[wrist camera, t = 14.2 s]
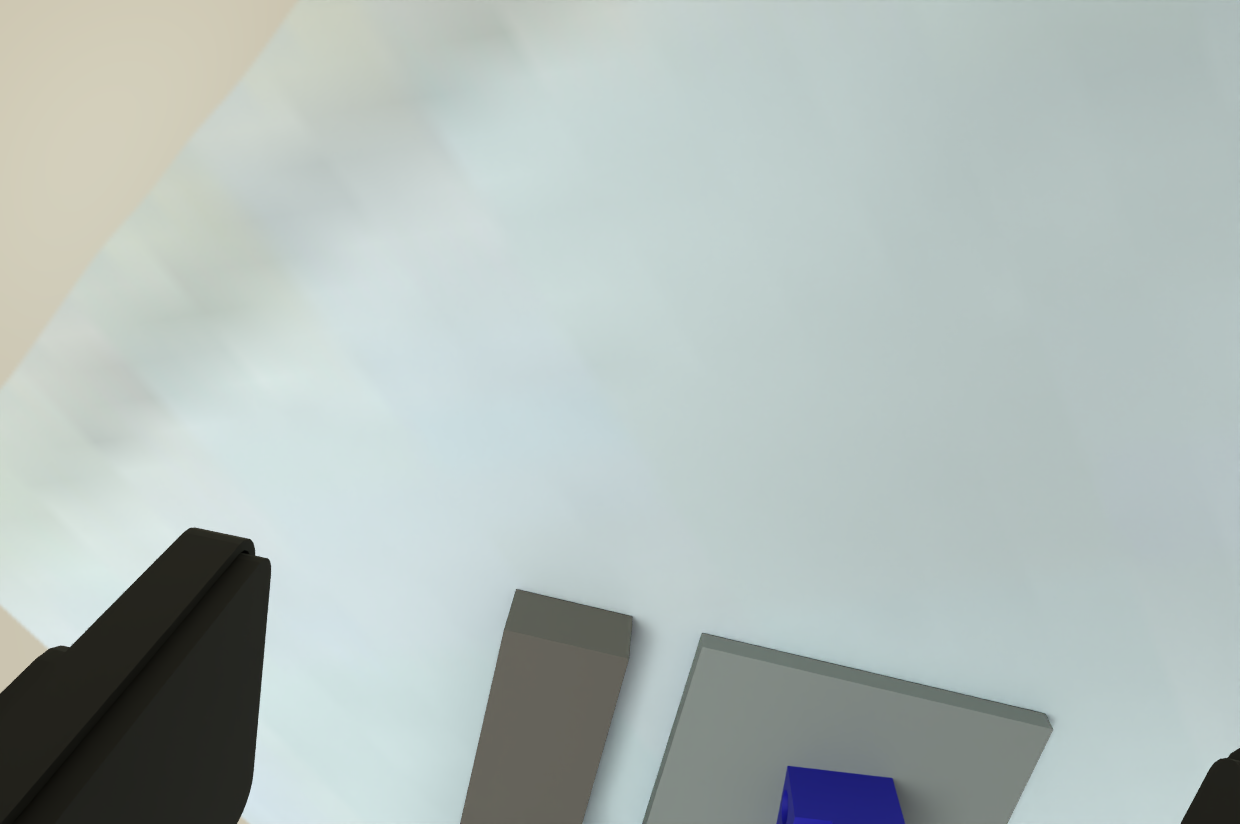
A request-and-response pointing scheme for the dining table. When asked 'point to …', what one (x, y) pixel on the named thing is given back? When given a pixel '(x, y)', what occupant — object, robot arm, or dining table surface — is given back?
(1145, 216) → the dining table surface
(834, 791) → the blue curved block
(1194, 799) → the robot arm
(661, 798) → the slate mat
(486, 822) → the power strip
